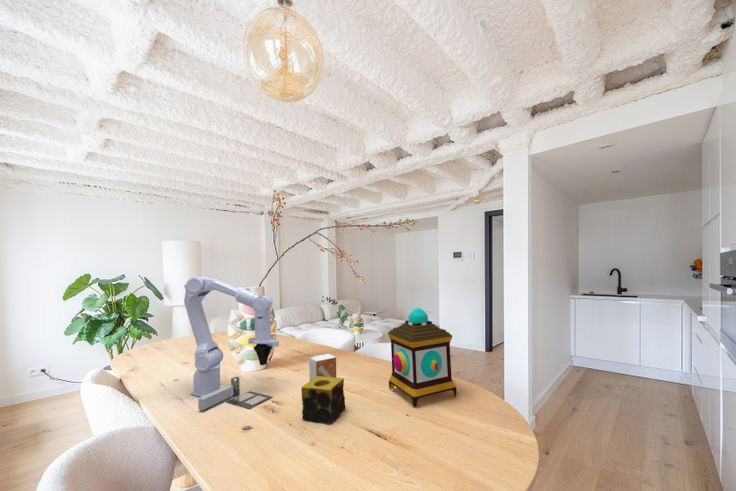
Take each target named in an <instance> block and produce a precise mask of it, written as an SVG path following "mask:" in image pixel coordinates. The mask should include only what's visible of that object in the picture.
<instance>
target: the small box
mask: <svg viewBox="0 0 736 491" xmlns="http://www.w3.org/2000/svg"><path fill="white" fill-rule="evenodd" d="M308 361H309V362H308V363H309V364H308V367H309V381H311V380H312V379H313V378H315V377H316V376H322V377H334V378H337V357H336V356H335V355H333V354H330V353H326V354H320V355H314V356H312V357H311V356H310V357H309V358H308Z"/></svg>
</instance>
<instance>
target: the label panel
mask: <svg viewBox="0 0 736 491" xmlns="http://www.w3.org/2000/svg"><path fill="white" fill-rule="evenodd" d="M273 398H274V397H273V396H271V395H268V394H264V393H260V392H255V391H252V390H249V391H246V392H245V393H242V394H240V395H239V396H236V397H232V399H229V400H226V402H225V403H227V404H230V405H233V406H238V407H240V408H244V409H247V410H251V409H253V408H255V407H257V406H259V405H261V404H263V403H265V402H267V401H269V400H271V399H273Z"/></svg>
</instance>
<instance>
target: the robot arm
mask: <svg viewBox="0 0 736 491" xmlns="http://www.w3.org/2000/svg"><path fill="white" fill-rule="evenodd" d="M184 289H185V290H184V291H185V292H184V298H183V304H184V306H185V307H184V308H185V310H186V313H187V316H188V320H189V323H190V327H191V330H192V333H193V336H194V340H195V343H196V349H195V351H194V358H195V360H194V366H195V368H196V370H195V372H194V374H193V381H192V382H193V389H192V390H193V391H192V392H190V393H191V395H192V396H197V397H198V398H201V397H203V396H205V395H207V394H210V393H212V392H214V391H217V390H219V389H221V388H222V387H221V362H222V361H223V358H224V351H223V350H222V349H221V348H220V347H219V345H218V343H217V342H216V341H214V340H213V337H212V332H211V329H210V327H209V323H208V320H207V317H206V314H205V313H206V312H205V311H204V306H203V304H202V301H203V300H204V299H205V297H206V296H207V295H208V294H209V293H211V292H212V291H217V292H220V293H222V294H225V295H227V296H228V295H229V296H231V297H234V298H235V301H236V302H237V303H238V304H239V303H240V304H241V305H244V306H245V307H246V306H247V307H249V308H252V309H253V311H254V337H249V338H248V339H247V340H248V341H247V342H248V344H249V345H251V344H253V345H255V346H253V350H254V352H255V353H256V355H257V358H258V362H259V365H260V366H265V365H267V363H268V359H269V356H270V352H271V351H272V349H273V348H277V347H279V346H280V343H279V342H280V341H279V340H276V339H274V338H272V316H271V315H272V314H271V308H272V306H273V300H272V298H271V297H270V296H269V295H267V294H264V295H262V293H261V292H258V293H257V292H255V291H253V290H251V288H250V287H241V288H238V287H235V286H233V285H231V284H229V283H227V282H225V281H222V280H221V279H218V278H217V277H213V276H210V275H205V276H192V277H191V278H189V279H188V280H187V281H186V283H185V284H184Z"/></svg>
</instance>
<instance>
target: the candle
mask: <svg viewBox="0 0 736 491" xmlns="http://www.w3.org/2000/svg"><path fill="white" fill-rule="evenodd" d="M344 379H345V378H344V377H336V378H334V377H322V376H316V377H315V378H313V379H312V380H311V381H310V380H309V381H308V382H305V384H303V385H302V386H301V401H302V403H301V404H302V410H301V412H302V413H301V414H302V420H303V421H305V422H313V423H320V424H326V425H333V424H334V423H335V421H336V420H338V418H339V417H340V416H341V415H342V413H343V412H344V411H346V398H345V394H344V385H345V384H344V382H345V380H344Z"/></svg>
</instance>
